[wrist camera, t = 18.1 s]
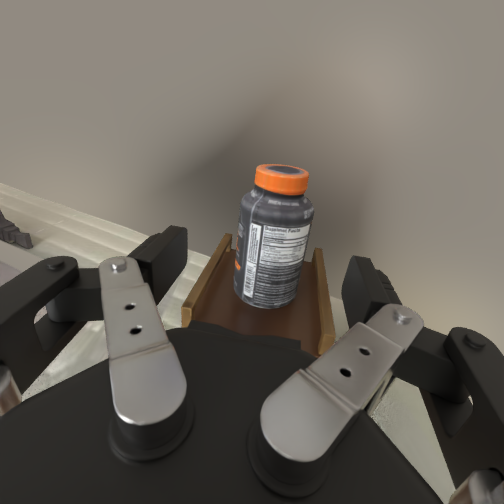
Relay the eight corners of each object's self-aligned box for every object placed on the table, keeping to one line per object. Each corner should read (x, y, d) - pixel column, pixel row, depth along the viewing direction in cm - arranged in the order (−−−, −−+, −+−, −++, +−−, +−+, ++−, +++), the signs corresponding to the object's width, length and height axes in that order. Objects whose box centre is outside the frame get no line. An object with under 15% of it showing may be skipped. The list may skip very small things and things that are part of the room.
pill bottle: (245, 267, 29) (257, 156, 24) (300, 282, 28) (326, 168, 23) (222, 299, 24) (232, 167, 19) (288, 319, 23) (318, 182, 18)
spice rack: (181, 390, 24) (179, 308, 20) (221, 295, 36) (226, 232, 32) (309, 418, 23) (336, 338, 19) (306, 310, 35) (321, 247, 31)
